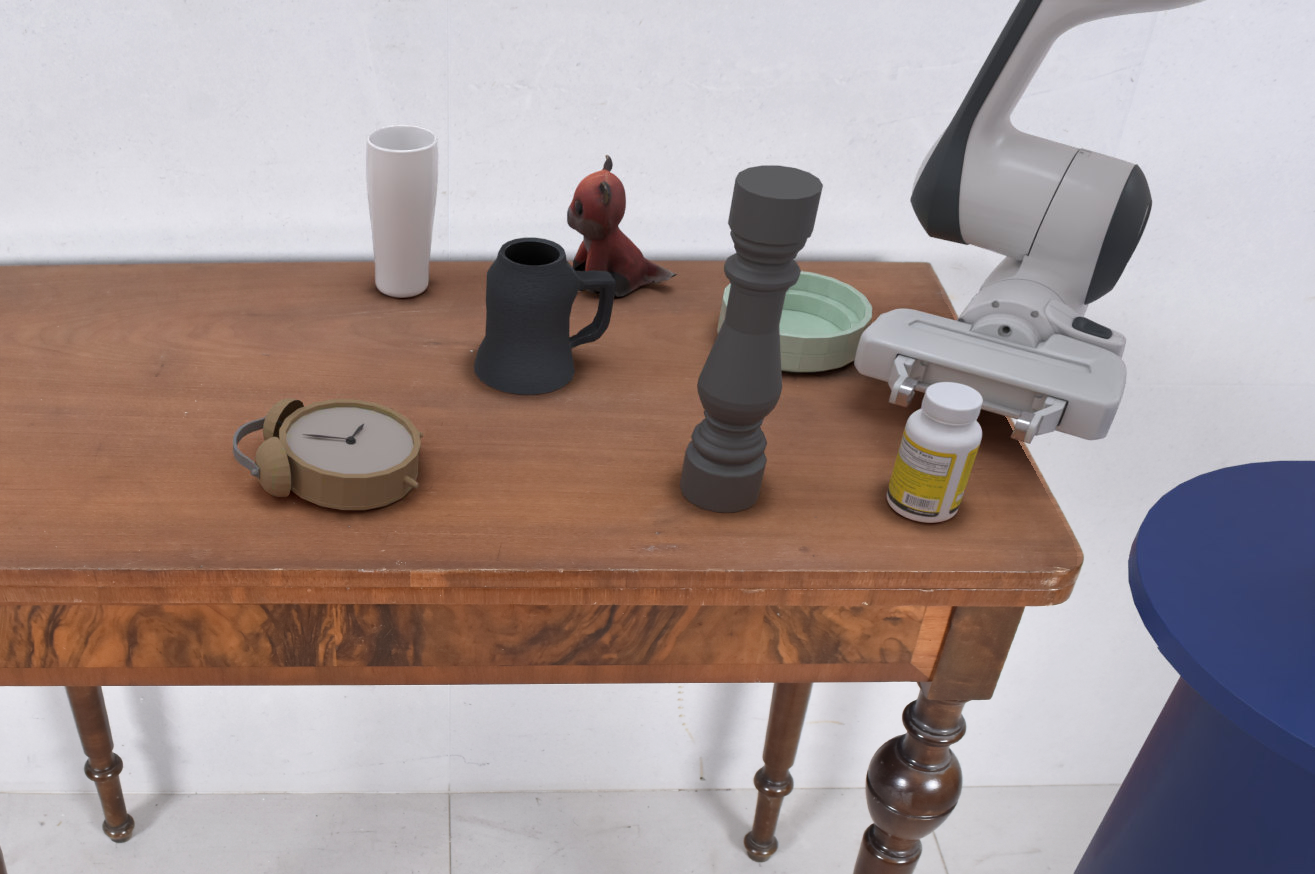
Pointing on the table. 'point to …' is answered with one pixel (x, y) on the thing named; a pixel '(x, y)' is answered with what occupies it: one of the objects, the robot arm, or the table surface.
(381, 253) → the drinking glass
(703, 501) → the candle holder
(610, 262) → the stuffed fox
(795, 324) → the bowl
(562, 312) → the mug
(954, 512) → the supplement bottle
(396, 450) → the alarm clock
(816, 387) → the table surface
